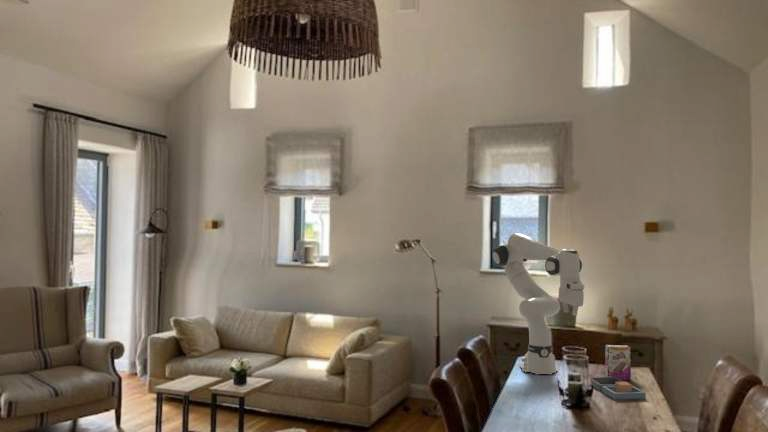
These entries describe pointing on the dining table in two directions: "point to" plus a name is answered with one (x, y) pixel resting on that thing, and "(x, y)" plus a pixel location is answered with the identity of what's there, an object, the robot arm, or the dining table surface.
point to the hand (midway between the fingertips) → (570, 313)
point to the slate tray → (624, 394)
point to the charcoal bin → (603, 382)
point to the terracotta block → (622, 387)
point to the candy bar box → (618, 361)
